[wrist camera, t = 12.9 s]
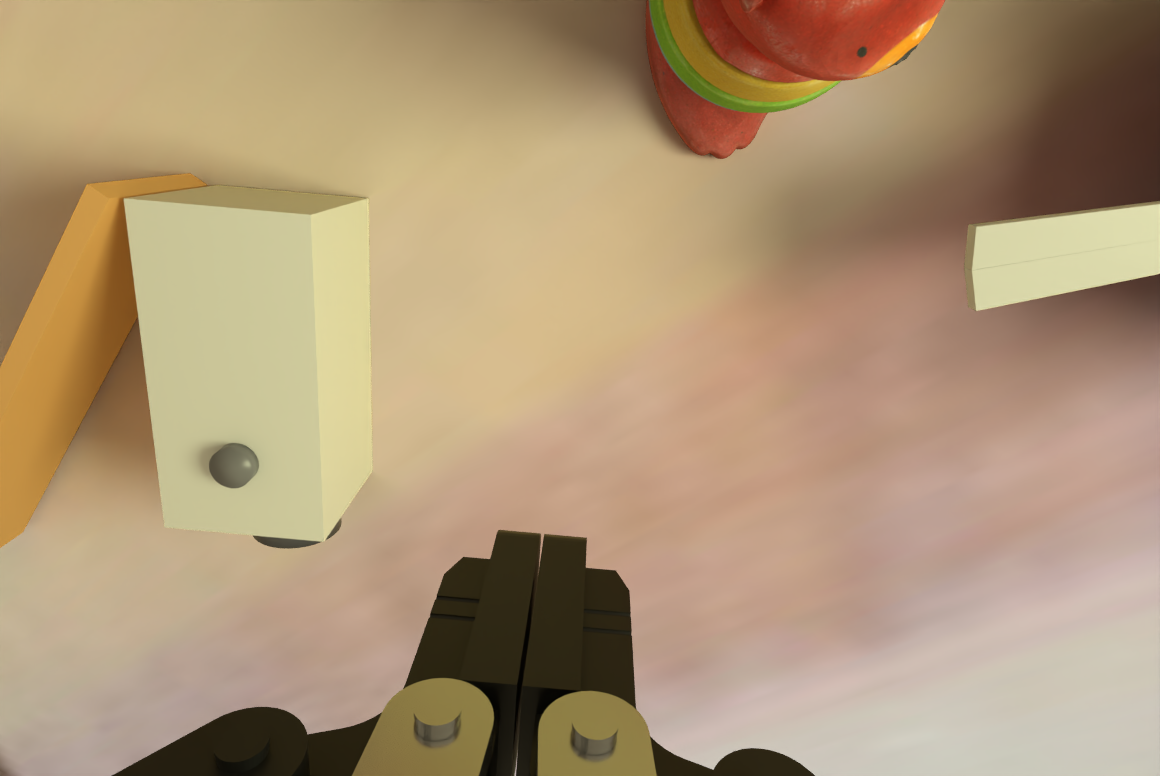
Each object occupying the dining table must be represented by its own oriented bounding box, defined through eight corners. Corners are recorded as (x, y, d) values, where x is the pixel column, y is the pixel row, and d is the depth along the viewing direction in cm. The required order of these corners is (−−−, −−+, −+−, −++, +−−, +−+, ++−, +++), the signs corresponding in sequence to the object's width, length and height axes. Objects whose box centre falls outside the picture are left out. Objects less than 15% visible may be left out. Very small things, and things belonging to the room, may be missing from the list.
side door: (176, 163, 38) (69, 172, 30) (207, 185, 38) (108, 198, 31) (-5, 516, 45) (-127, 594, 38) (23, 532, 46) (-93, 611, 38)
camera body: (217, 184, 39) (111, 199, 30) (368, 198, 38) (303, 217, 30) (242, 480, 44) (158, 560, 36) (372, 491, 44) (319, 575, 36)
